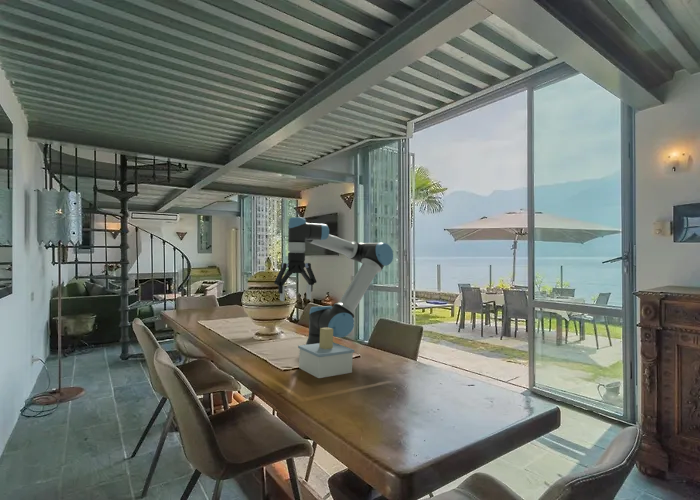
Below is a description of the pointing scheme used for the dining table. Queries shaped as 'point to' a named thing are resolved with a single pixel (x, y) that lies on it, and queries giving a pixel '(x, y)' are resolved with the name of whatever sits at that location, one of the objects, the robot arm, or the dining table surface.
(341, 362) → the box
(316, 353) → the lid
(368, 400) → the dining table surface
